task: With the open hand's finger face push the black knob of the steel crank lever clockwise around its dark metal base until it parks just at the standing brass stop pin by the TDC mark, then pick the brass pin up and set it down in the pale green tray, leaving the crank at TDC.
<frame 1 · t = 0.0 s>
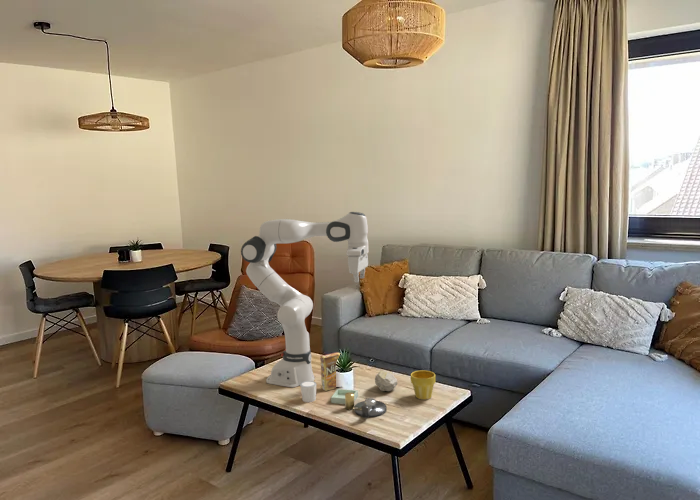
hand: (359, 280, 231), 48 cm above the table, fingers open, 8 cm apart
stop pin: (350, 408, 213), on the table
tray: (344, 399, 222), on the table
white cylinder: (309, 399, 223), on the table
crank: (367, 406, 206), point 3 cm above the table, hinge at 70.0°
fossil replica: (386, 389, 231), on the table
plant pot: (423, 396, 222), on the table
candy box: (332, 388, 235), on the table
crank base: (370, 409, 211), on the table
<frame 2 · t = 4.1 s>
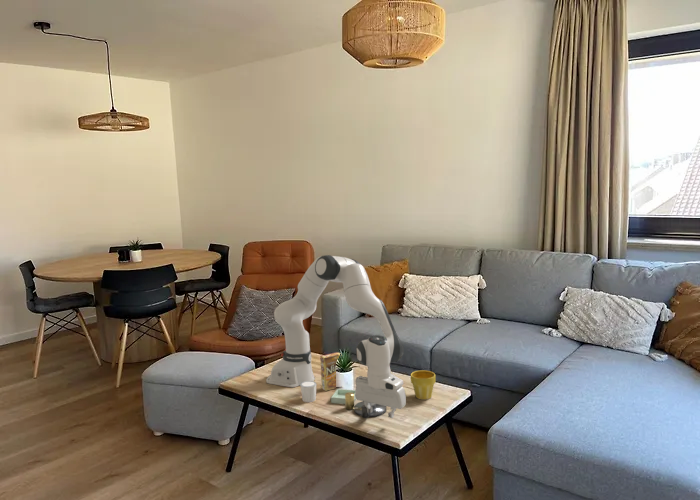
hand: (380, 414, 198), 4 cm above the table, fingers open, 8 cm apart
crank: (367, 406, 206), point 3 cm above the table, hinge at 69.8°, touching gripper
everything else where it was.
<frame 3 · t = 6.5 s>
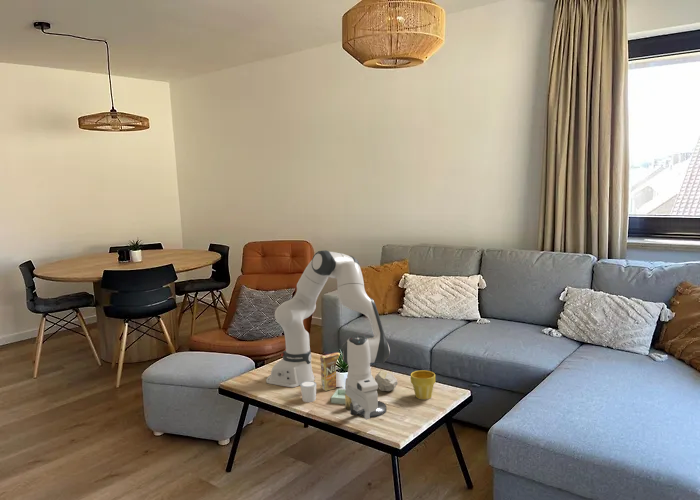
hand: (361, 414, 199), 4 cm above the table, fingers open, 7 cm apart
crank: (362, 405, 208), point 3 cm above the table, hinge at 36.2°, touching gripper
everything else where it was.
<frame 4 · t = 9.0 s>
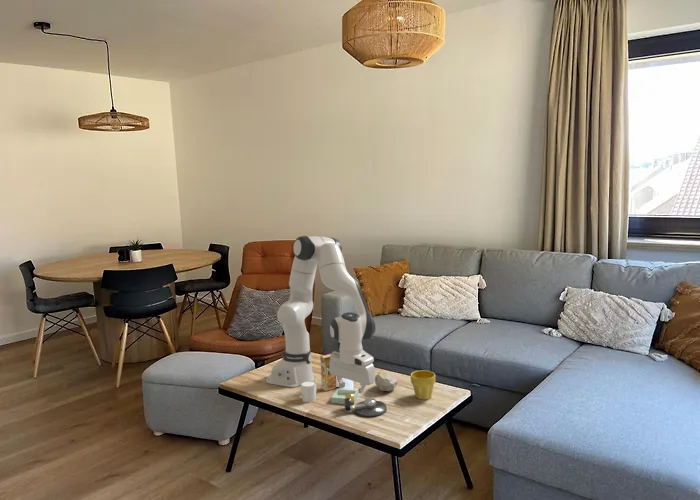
hand: (351, 390, 203), 11 cm above the table, fingers open, 8 cm apart
crank: (360, 403, 210), point 3 cm above the table, hinge at 4.8°
everything else where it was.
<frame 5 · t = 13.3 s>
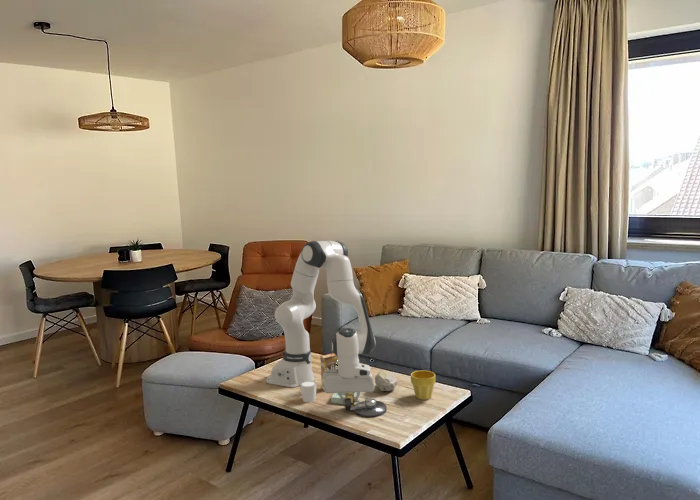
hand: (349, 402, 213), 3 cm above the table, fingers closed on stop pin, 4 cm apart
stop pin: (350, 408, 213), on the table, touching gripper
everything else where it was.
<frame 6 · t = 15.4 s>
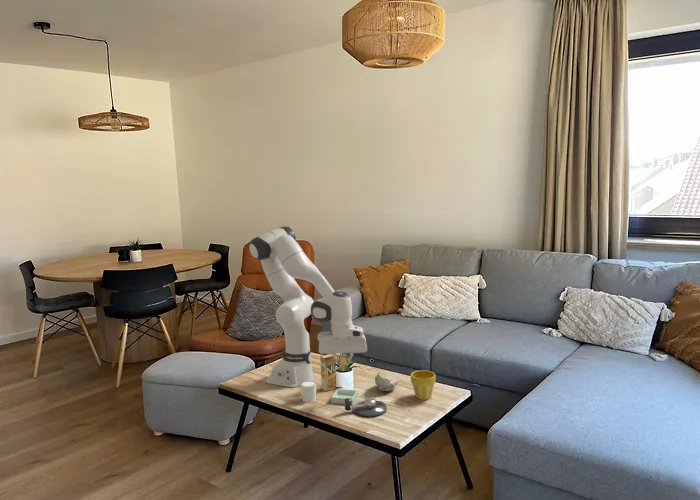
hand: (343, 362, 220), 16 cm above the table, fingers closed on stop pin, 4 cm apart
stop pin: (343, 369, 220), point 13 cm above the table, touching gripper
everything else where it was.
when the fingers open (4 cm above the table, at t = 17.9 s): stop pin drops 1 cm, resting on tray.
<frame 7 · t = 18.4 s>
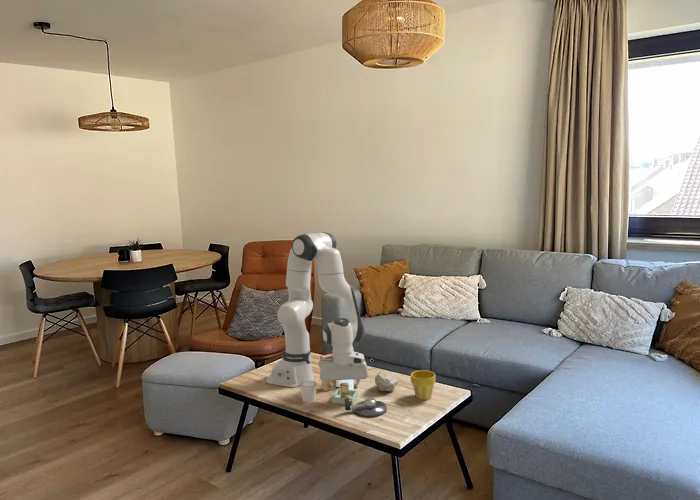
hand: (344, 389, 221), 4 cm above the table, fingers open, 8 cm apart
stop pin: (344, 398, 222), resting on tray
everything else where it was.
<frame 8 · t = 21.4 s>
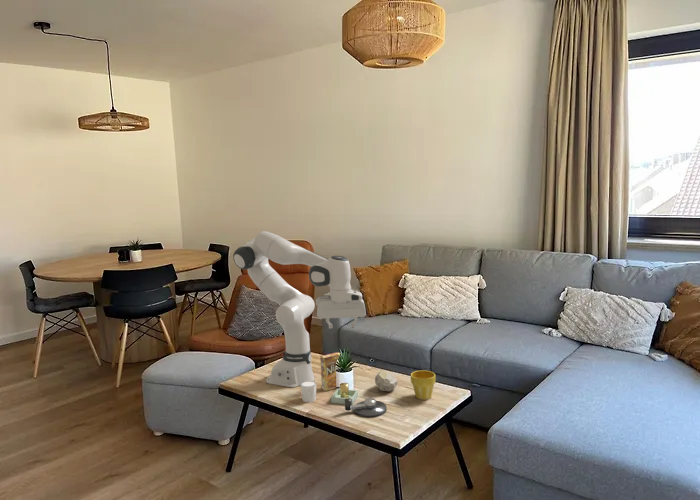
hand: (342, 327, 218), 31 cm above the table, fingers open, 8 cm apart
nothing on the table moved.
at the end: crank at +5° (first picture: +70°); stop pin inside the target area on the tray (0.1 cm from its centre), point 0.5 cm above the tray's base; the gripper is holding nothing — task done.
